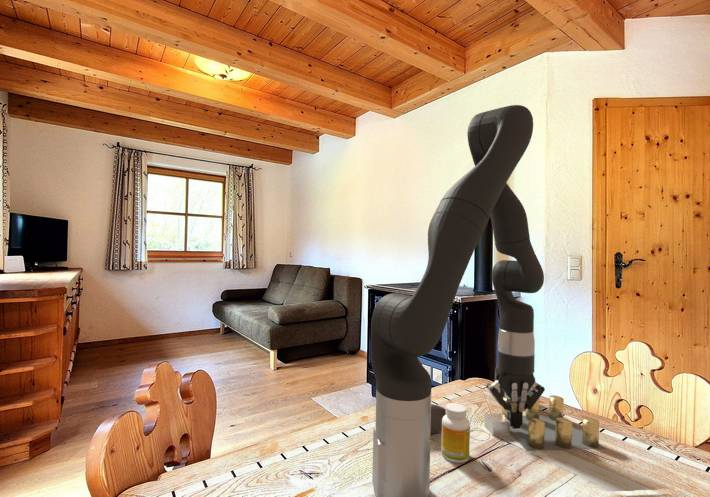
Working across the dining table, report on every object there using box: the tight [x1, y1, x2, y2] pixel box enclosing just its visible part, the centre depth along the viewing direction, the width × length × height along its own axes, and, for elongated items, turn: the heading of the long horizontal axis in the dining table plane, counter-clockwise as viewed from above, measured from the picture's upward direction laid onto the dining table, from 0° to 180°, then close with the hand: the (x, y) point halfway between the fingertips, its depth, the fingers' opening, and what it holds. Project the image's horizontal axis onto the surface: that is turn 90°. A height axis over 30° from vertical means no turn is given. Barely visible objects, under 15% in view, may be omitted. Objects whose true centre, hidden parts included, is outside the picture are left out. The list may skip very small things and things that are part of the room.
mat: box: [510, 414, 607, 452], centre depth 82 cm, size 23×15×1 cm, turn 95°
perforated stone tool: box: [430, 403, 446, 435], centre depth 81 cm, size 15×5×7 cm, turn 98°
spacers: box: [501, 395, 600, 449], centre depth 82 cm, size 15×14×5 cm
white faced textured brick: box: [484, 413, 511, 437], centre depth 82 cm, size 4×4×3 cm
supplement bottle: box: [440, 402, 471, 464], centre depth 73 cm, size 5×5×10 cm
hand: (514, 426), depth 81 cm, fingers closed
